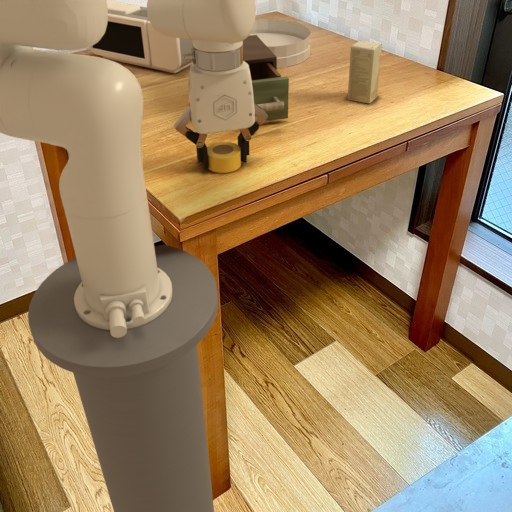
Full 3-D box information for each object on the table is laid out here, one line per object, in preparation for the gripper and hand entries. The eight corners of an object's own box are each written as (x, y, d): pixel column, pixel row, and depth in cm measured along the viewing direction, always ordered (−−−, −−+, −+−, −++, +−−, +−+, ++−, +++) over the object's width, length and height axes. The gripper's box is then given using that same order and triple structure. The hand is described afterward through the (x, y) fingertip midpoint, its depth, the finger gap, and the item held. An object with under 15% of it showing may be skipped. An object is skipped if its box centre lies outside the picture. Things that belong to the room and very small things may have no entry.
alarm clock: (89, 58, 145) (80, 6, 138) (114, 46, 151) (107, -3, 144) (180, 77, 134) (175, 23, 127) (203, 64, 140) (200, 12, 133)
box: (377, 97, 124) (384, 43, 117) (369, 104, 121) (375, 49, 114) (354, 92, 126) (359, 39, 119) (345, 99, 123) (350, 45, 116)
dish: (214, 41, 153) (213, 21, 150) (297, 35, 157) (298, 16, 154) (227, 72, 136) (227, 50, 133) (321, 64, 139) (322, 43, 136)
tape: (245, 170, 100) (244, 154, 98) (210, 175, 99) (209, 160, 97) (236, 154, 105) (235, 139, 103) (203, 158, 103) (201, 144, 102)
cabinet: (276, 103, 122) (276, 56, 116) (216, 111, 119) (213, 63, 113) (256, 78, 133) (256, 34, 127) (201, 85, 130) (198, 40, 124)
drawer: (295, 127, 111) (296, 86, 106) (235, 135, 108) (234, 94, 104) (267, 92, 124) (267, 54, 120) (214, 98, 122) (212, 60, 117)
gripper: (165, 71, 86) (177, 180, 97) (280, 58, 90) (278, 165, 100) (158, 54, 92) (169, 159, 103) (265, 43, 95) (265, 145, 106)
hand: (223, 161), depth 101 cm, fingers closed on tape, 6 cm apart
